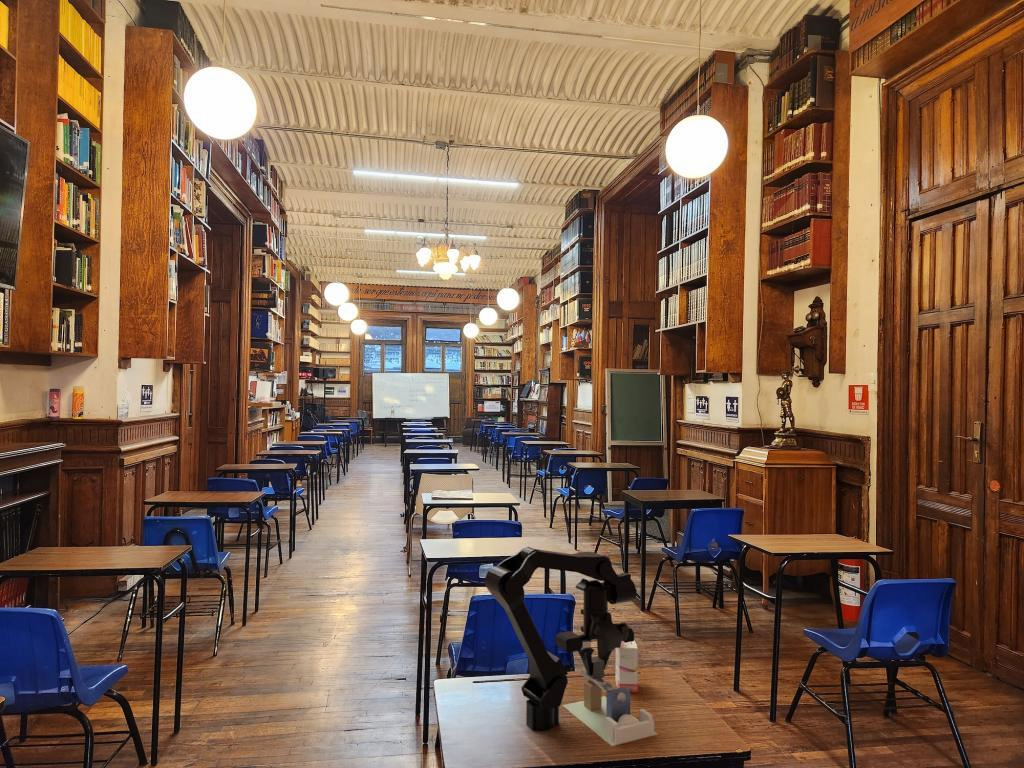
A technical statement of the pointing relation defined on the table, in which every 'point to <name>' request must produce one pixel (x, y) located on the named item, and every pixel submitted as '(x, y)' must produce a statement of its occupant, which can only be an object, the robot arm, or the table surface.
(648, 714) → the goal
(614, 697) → the player rod
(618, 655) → the ink cartridge box
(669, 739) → the table surface
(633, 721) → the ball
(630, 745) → the table surface
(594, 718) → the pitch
